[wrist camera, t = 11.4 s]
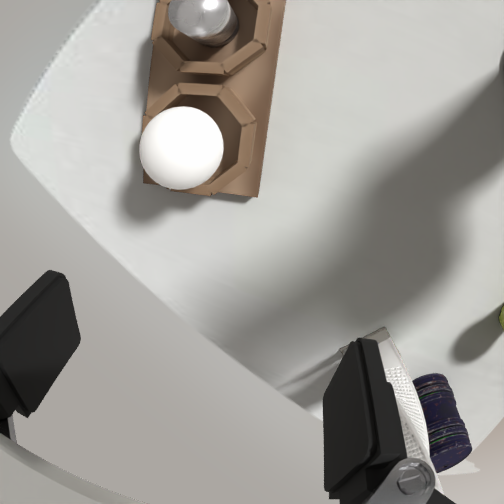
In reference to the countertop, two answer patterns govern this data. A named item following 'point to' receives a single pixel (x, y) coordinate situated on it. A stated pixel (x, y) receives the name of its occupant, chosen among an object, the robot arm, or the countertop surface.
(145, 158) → the lightbulb
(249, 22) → the socket board
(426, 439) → the skyscraper
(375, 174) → the countertop surface
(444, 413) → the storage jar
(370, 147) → the countertop surface
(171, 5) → the grey domed cylinder
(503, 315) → the plant pot
